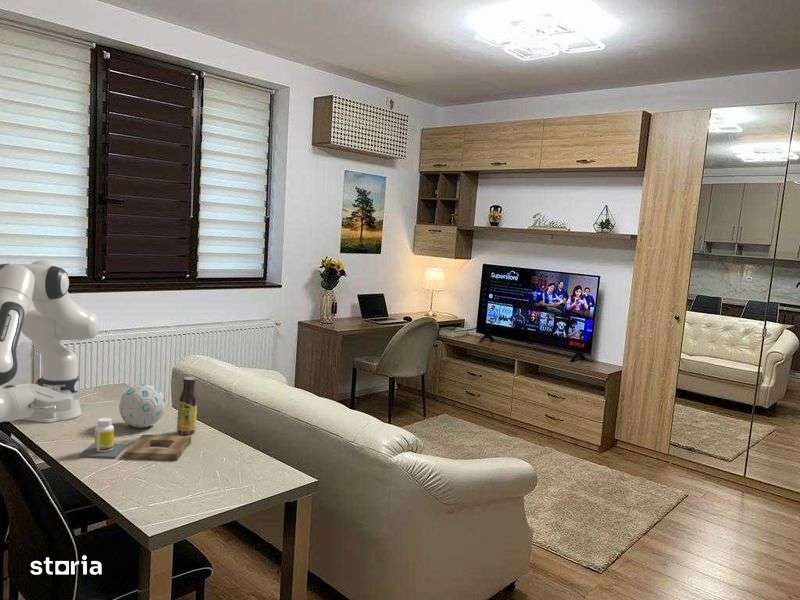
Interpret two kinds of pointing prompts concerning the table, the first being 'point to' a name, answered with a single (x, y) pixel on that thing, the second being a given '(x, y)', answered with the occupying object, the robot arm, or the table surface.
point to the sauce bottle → (187, 408)
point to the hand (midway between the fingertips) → (68, 392)
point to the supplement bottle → (104, 435)
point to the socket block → (144, 452)
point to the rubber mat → (109, 454)
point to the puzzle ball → (142, 406)
